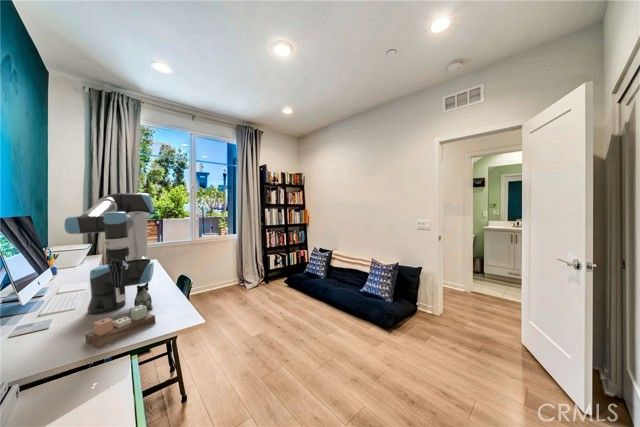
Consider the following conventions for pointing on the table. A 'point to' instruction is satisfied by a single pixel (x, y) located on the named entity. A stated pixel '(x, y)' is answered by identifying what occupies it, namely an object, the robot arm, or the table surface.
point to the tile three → (138, 312)
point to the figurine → (143, 297)
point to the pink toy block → (103, 326)
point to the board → (119, 332)
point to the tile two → (122, 322)
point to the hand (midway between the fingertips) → (121, 300)
